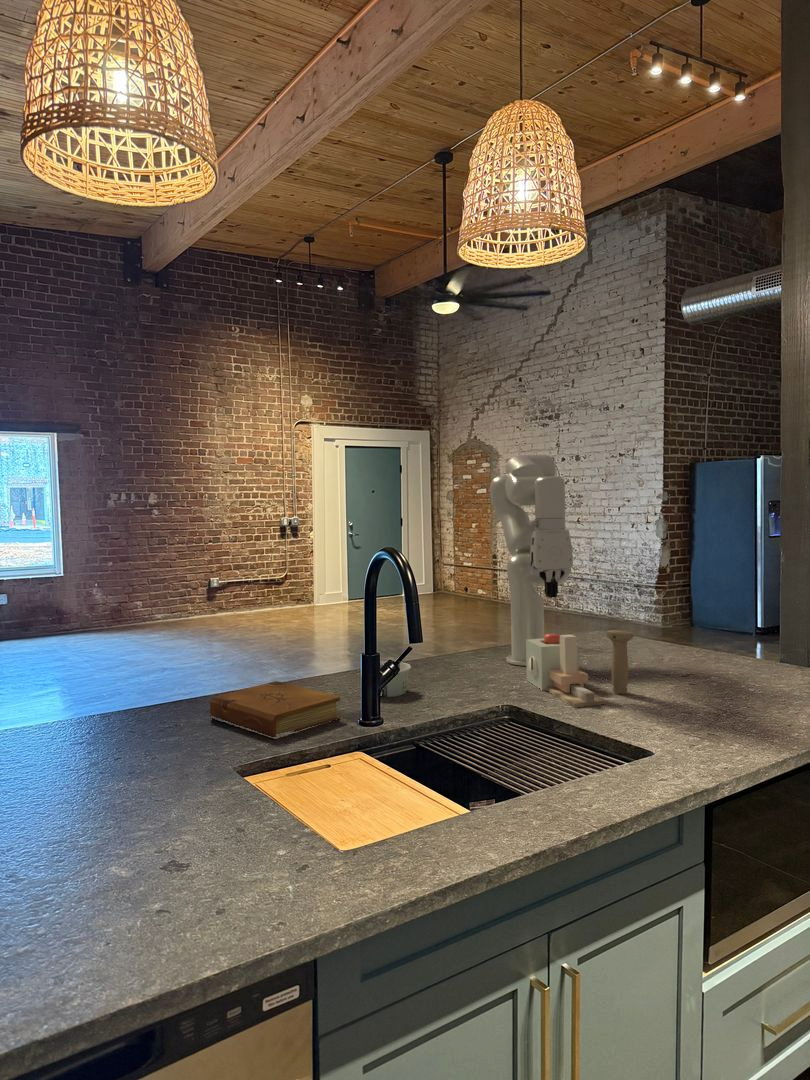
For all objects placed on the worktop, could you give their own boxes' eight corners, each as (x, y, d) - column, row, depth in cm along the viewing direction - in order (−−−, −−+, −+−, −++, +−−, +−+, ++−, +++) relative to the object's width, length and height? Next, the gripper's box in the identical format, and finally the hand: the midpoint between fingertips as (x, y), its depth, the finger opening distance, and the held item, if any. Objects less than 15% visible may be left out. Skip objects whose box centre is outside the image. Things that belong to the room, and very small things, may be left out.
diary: (210, 722, 170) (209, 697, 169) (277, 704, 183) (276, 680, 183) (273, 742, 154) (272, 715, 154) (340, 721, 168) (339, 695, 167)
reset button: (541, 645, 194) (541, 634, 194) (555, 644, 195) (555, 633, 195) (547, 648, 190) (547, 636, 190) (562, 647, 191) (562, 635, 191)
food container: (411, 698, 184) (410, 671, 183) (362, 699, 184) (361, 672, 183) (411, 685, 196) (411, 660, 195) (366, 686, 196) (365, 661, 195)
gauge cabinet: (524, 681, 197) (523, 639, 196) (561, 678, 199) (561, 637, 199) (539, 690, 187) (538, 647, 186) (578, 687, 190) (578, 644, 189)
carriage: (549, 686, 186) (548, 634, 186) (575, 683, 188) (574, 632, 187) (561, 693, 180) (560, 639, 179) (588, 690, 181) (587, 637, 180)
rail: (546, 690, 187) (546, 678, 187) (576, 688, 189) (576, 676, 189) (574, 707, 172) (574, 694, 172) (606, 704, 174) (605, 691, 174)
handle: (626, 697, 179) (626, 635, 178) (603, 692, 184) (602, 632, 183) (637, 693, 183) (636, 632, 182) (613, 688, 187) (613, 629, 186)
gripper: (528, 526, 185) (529, 600, 186) (584, 524, 189) (585, 597, 190) (517, 525, 193) (518, 596, 194) (571, 523, 196) (571, 593, 197)
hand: (551, 596), depth 192 cm, fingers closed
